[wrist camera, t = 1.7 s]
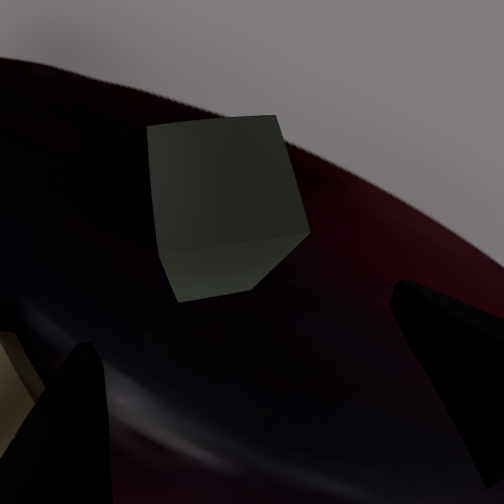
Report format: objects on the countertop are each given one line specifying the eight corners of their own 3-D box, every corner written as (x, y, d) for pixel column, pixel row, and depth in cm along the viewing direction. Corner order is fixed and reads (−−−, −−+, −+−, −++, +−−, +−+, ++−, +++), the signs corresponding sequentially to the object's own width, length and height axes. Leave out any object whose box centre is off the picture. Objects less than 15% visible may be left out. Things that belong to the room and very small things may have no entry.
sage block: (250, 289, 20) (310, 232, 10) (178, 302, 19) (159, 255, 9) (236, 222, 21) (275, 115, 11) (167, 232, 20) (147, 126, 10)
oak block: (100, 457, 16) (87, 472, 13) (20, 502, 13) (3, 516, 10) (17, 332, 17) (-6, 330, 14) (-50, 394, 14) (-73, 396, 11)
